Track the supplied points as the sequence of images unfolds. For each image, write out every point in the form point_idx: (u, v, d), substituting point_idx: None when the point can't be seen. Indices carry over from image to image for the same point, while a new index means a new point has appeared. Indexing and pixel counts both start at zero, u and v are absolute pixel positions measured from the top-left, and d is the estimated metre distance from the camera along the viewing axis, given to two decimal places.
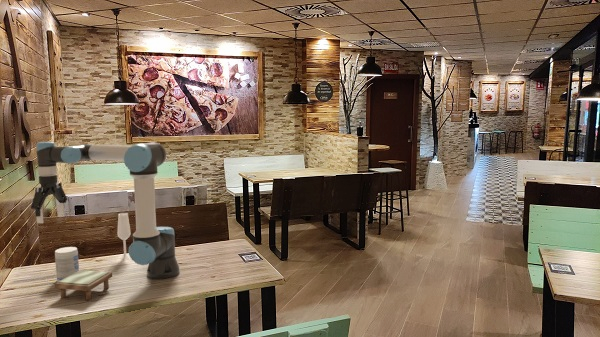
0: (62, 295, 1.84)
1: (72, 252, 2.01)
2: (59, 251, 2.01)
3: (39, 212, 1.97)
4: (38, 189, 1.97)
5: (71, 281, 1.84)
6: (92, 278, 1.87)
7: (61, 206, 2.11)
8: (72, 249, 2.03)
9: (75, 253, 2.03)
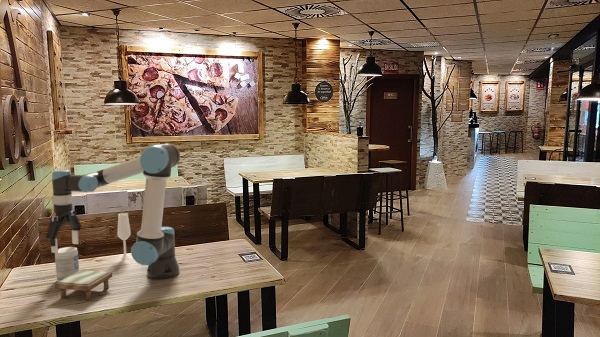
0: (62, 295, 1.84)
1: (72, 252, 2.01)
2: (59, 251, 2.01)
3: (54, 242, 1.95)
4: (53, 218, 1.94)
5: (71, 281, 1.84)
6: (92, 278, 1.87)
7: (75, 234, 2.09)
8: (72, 249, 2.03)
9: (75, 253, 2.03)
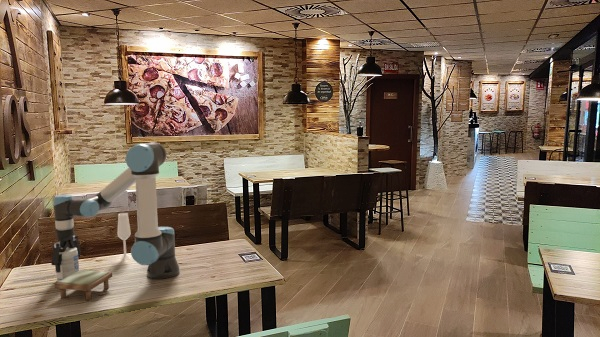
0: (62, 295, 1.84)
1: (72, 252, 2.01)
2: None
3: (59, 268, 1.98)
4: (55, 245, 1.96)
5: (71, 281, 1.84)
6: (92, 278, 1.87)
7: None
8: (72, 249, 2.03)
9: (75, 253, 2.03)
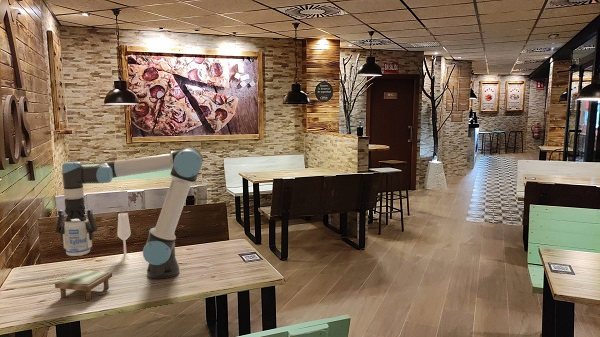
0: (62, 295, 1.84)
1: (68, 224, 1.86)
2: None
3: (62, 236, 1.90)
4: None
5: (71, 281, 1.84)
6: (92, 278, 1.87)
7: None
8: (75, 222, 1.88)
9: (71, 227, 1.86)
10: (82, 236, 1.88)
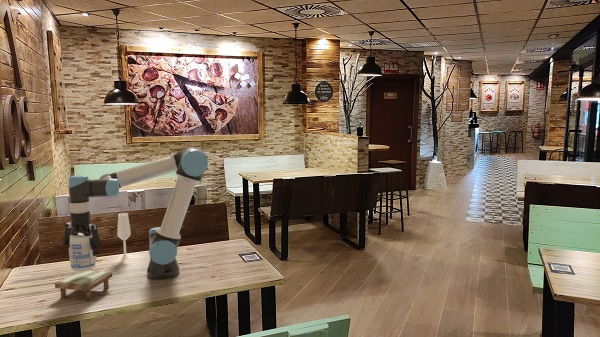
0: (62, 295, 1.84)
1: (72, 239, 1.83)
2: None
3: (69, 250, 1.88)
4: None
5: (71, 281, 1.84)
6: (92, 278, 1.87)
7: None
8: (79, 236, 1.84)
9: (74, 241, 1.82)
10: (85, 251, 1.84)
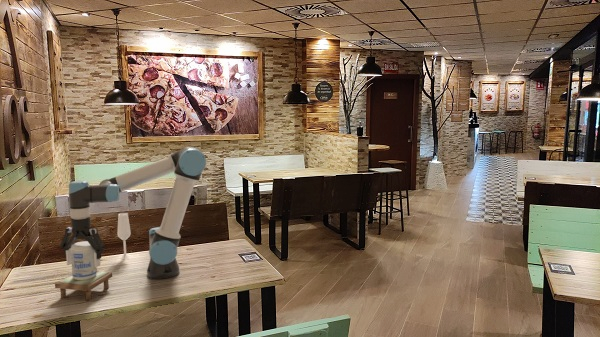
0: (62, 295, 1.84)
1: (73, 248, 1.83)
2: (79, 243, 1.89)
3: (66, 253, 1.88)
4: None
5: (71, 281, 1.84)
6: (92, 278, 1.87)
7: None
8: (80, 246, 1.84)
9: (76, 251, 1.83)
10: (86, 260, 1.84)
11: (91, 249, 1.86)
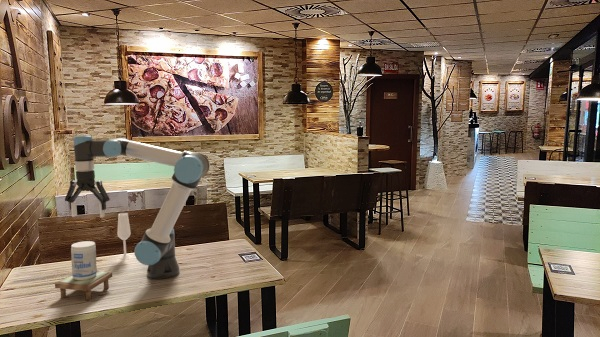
0: (62, 295, 1.84)
1: (73, 248, 1.83)
2: (79, 243, 1.89)
3: (71, 205, 1.97)
4: None
5: (71, 281, 1.84)
6: (92, 278, 1.87)
7: None
8: (80, 246, 1.84)
9: (76, 251, 1.83)
10: (86, 260, 1.84)
11: (91, 249, 1.86)
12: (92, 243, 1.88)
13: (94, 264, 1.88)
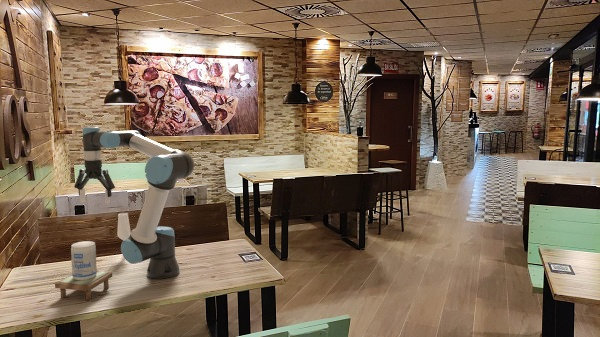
0: (62, 295, 1.84)
1: (73, 248, 1.83)
2: (79, 243, 1.89)
3: (79, 192, 2.11)
4: None
5: (71, 281, 1.84)
6: (92, 278, 1.87)
7: None
8: (80, 246, 1.84)
9: (76, 251, 1.83)
10: (86, 260, 1.84)
11: (91, 249, 1.86)
12: (92, 243, 1.88)
13: (94, 264, 1.88)
